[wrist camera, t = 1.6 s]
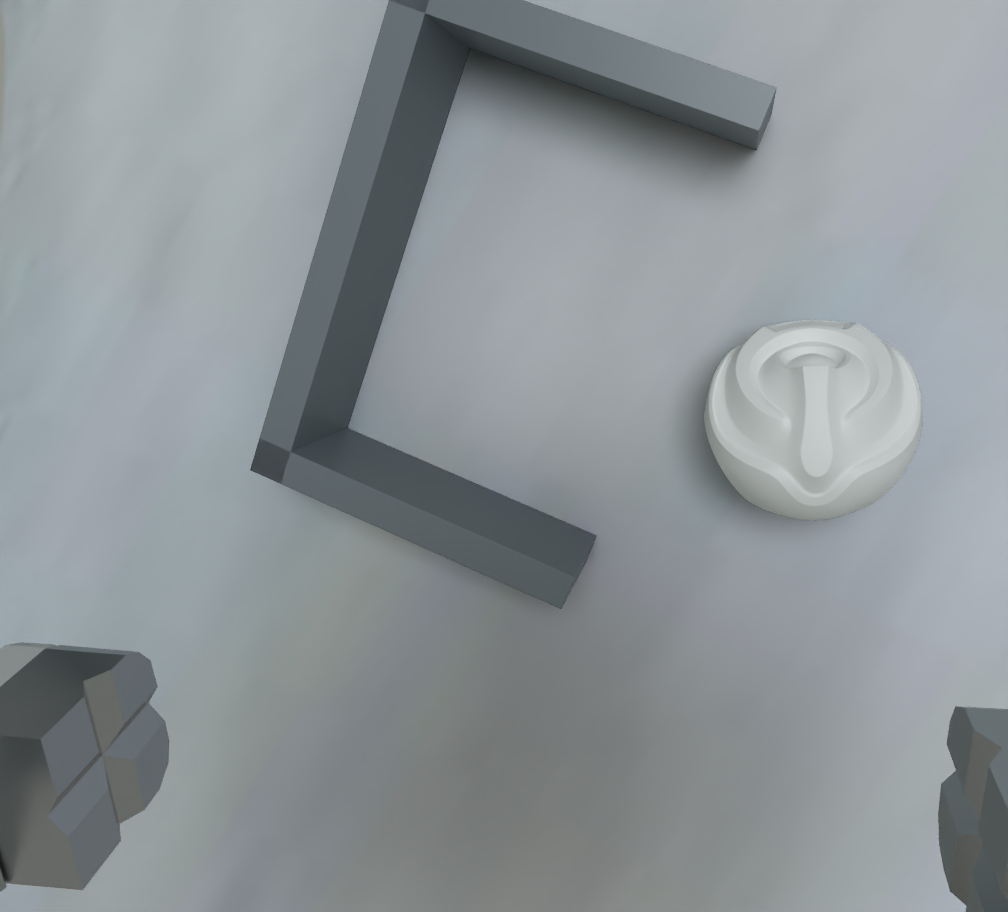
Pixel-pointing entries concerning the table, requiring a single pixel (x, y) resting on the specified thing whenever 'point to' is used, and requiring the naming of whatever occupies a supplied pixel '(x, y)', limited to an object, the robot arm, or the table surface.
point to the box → (380, 247)
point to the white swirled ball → (813, 418)
